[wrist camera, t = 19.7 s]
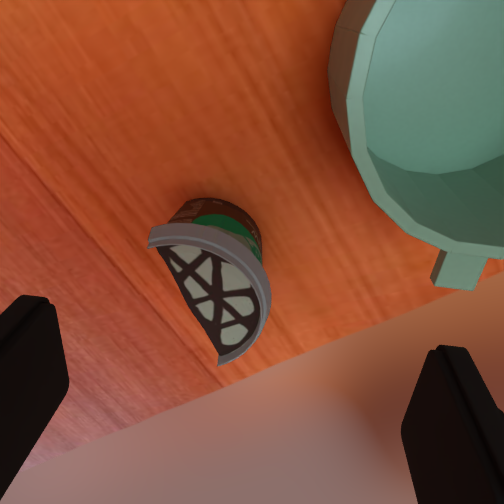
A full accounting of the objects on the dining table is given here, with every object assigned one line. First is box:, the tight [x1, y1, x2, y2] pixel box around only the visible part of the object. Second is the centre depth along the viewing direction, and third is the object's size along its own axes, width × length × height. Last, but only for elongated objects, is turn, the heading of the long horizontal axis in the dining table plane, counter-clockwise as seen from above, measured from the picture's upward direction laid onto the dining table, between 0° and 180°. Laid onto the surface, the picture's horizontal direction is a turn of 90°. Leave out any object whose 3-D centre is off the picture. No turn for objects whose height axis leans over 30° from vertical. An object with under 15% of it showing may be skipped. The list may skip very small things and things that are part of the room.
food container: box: [147, 198, 271, 366], centre depth 34 cm, size 12×6×10 cm, turn 22°
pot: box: [327, 0, 504, 291], centre depth 24 cm, size 18×23×12 cm
